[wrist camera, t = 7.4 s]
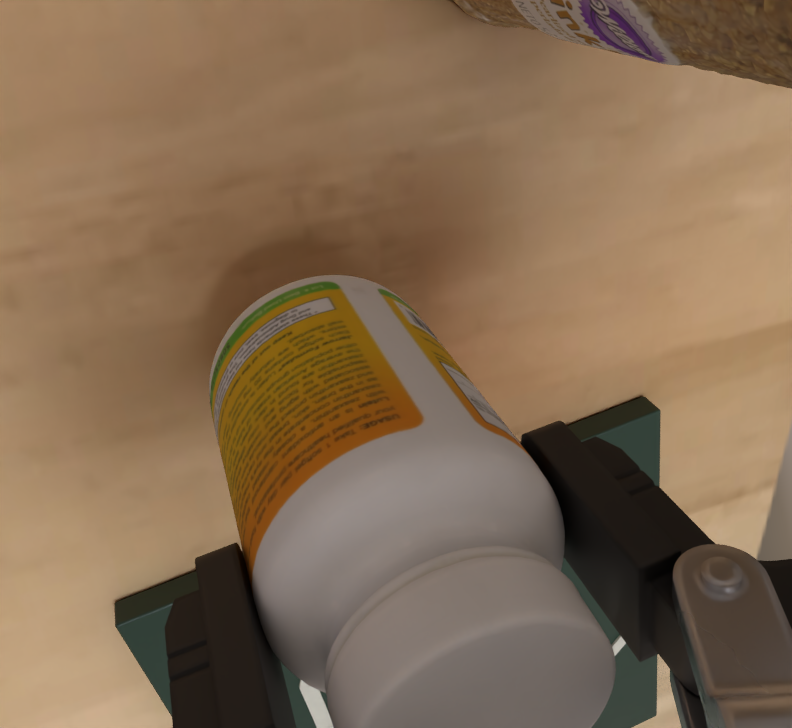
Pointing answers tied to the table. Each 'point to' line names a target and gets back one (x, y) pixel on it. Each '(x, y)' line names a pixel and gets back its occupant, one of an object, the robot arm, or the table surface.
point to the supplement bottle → (396, 522)
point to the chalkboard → (633, 679)
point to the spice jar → (664, 30)
